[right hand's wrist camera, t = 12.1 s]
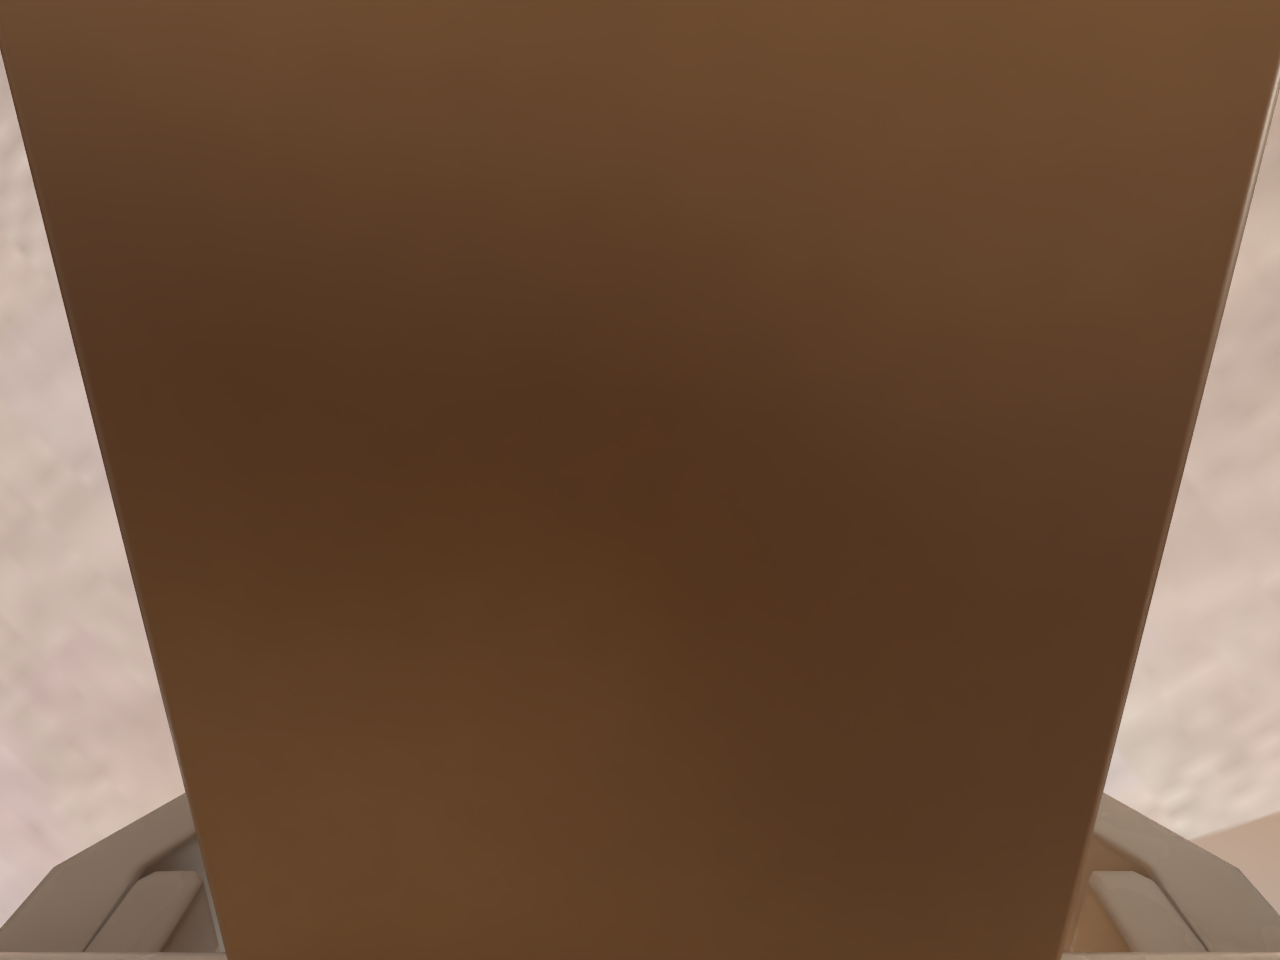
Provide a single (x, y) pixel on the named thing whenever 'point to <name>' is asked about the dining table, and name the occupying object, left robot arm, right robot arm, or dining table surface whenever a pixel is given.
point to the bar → (644, 444)
